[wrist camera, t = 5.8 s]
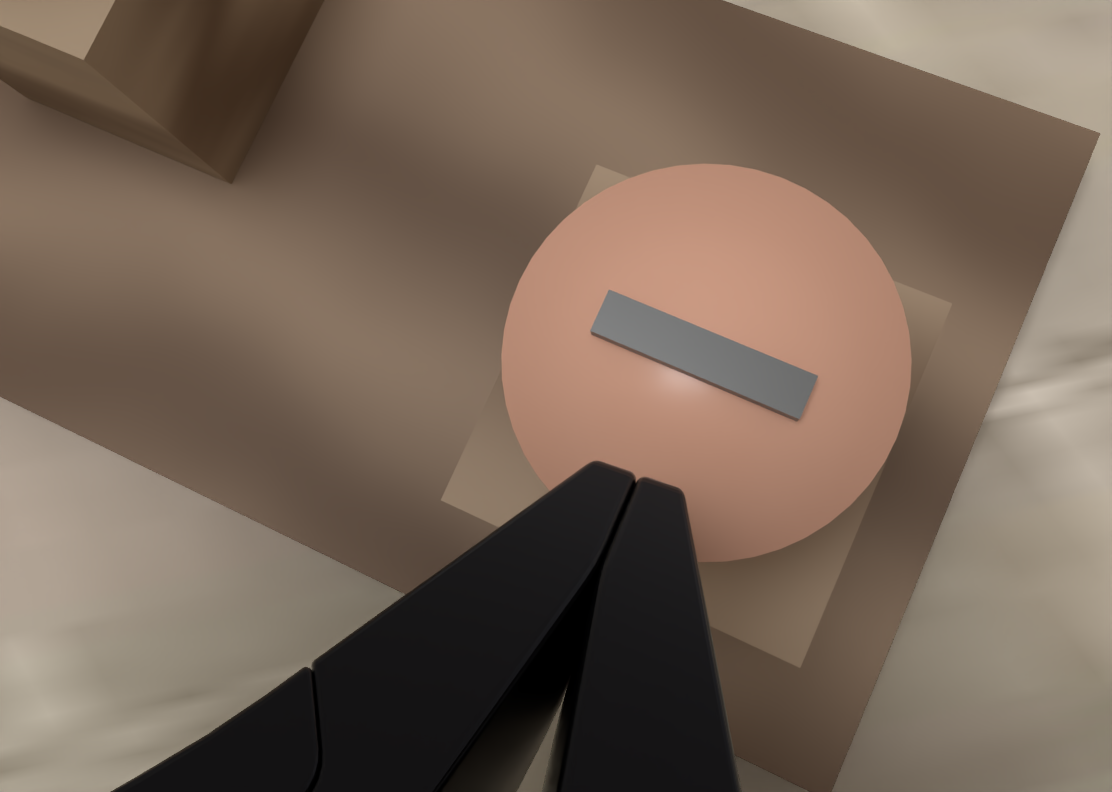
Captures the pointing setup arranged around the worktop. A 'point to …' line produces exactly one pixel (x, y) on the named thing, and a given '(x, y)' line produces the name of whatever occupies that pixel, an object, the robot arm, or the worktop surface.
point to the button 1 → (712, 352)
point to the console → (484, 271)
